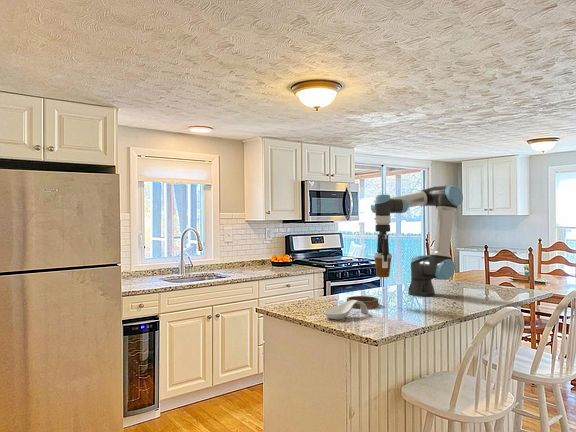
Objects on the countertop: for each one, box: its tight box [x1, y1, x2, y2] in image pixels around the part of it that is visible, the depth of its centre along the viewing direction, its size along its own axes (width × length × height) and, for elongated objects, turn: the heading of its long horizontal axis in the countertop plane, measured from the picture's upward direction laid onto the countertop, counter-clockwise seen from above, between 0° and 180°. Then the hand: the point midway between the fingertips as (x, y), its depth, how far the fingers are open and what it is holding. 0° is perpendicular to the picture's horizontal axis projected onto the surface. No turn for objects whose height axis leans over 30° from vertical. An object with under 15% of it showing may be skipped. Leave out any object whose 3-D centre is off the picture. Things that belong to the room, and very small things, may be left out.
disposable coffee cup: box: [373, 252, 393, 278], centre depth 229 cm, size 10×10×12 cm
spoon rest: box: [323, 300, 369, 321], centre depth 204 cm, size 24×12×7 cm, turn 125°
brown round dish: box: [346, 295, 380, 310], centre depth 229 cm, size 17×17×4 cm
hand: (382, 266), depth 229 cm, fingers closed on disposable coffee cup, 9 cm apart
